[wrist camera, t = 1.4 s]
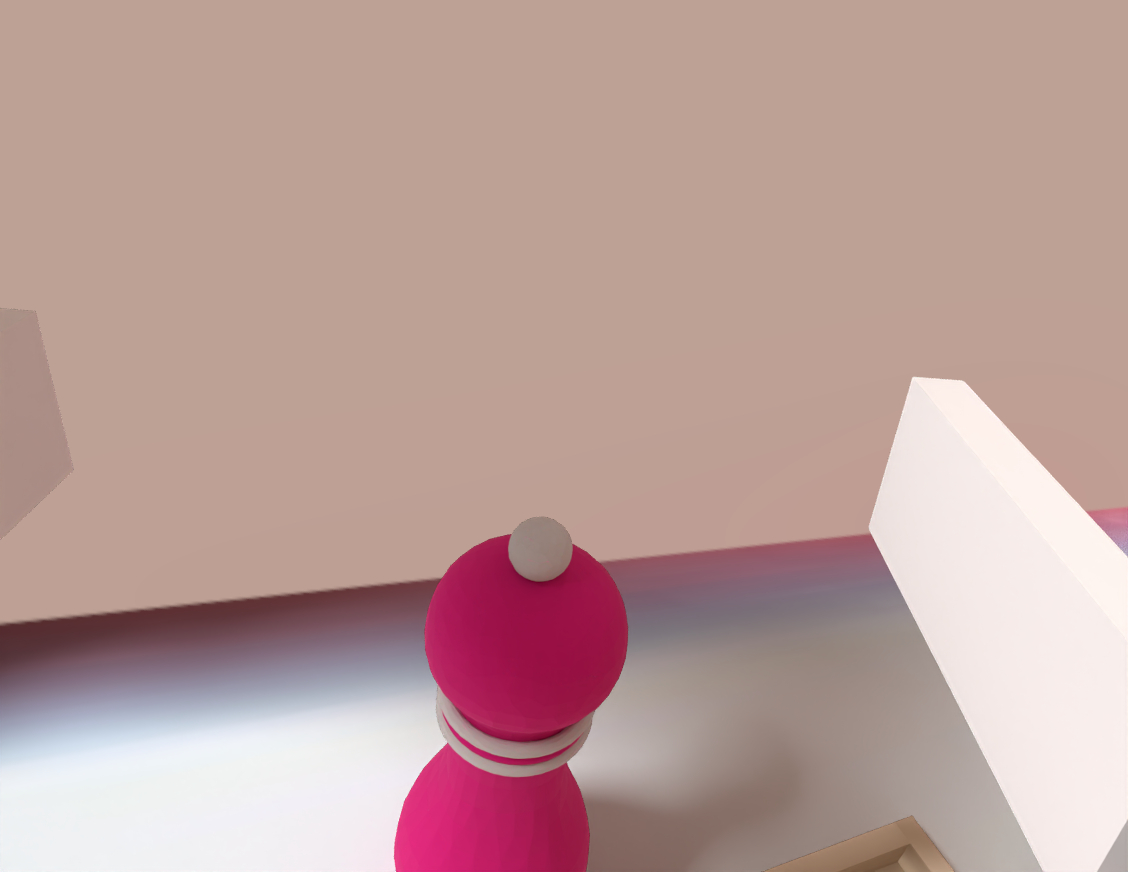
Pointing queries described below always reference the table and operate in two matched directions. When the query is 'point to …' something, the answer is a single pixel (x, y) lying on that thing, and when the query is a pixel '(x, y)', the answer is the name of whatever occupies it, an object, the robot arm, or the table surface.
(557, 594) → the pepper mill
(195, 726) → the table surface
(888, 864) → the base
